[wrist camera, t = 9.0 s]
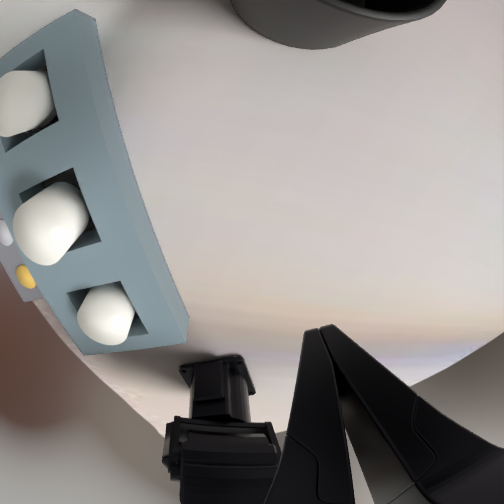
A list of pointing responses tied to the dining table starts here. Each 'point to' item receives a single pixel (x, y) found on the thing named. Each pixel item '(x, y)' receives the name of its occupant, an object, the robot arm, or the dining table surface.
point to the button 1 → (25, 102)
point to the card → (16, 266)
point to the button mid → (50, 222)
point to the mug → (328, 19)
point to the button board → (89, 191)
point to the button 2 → (106, 314)
